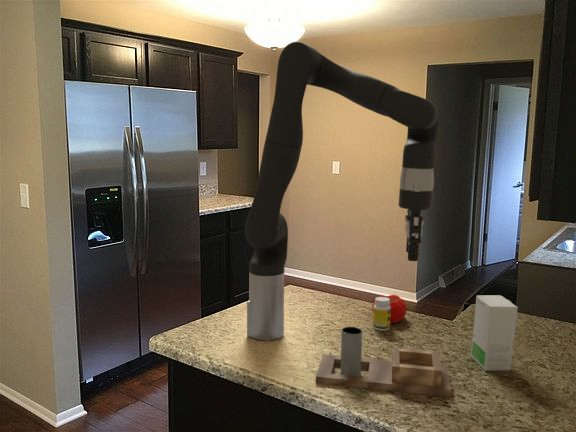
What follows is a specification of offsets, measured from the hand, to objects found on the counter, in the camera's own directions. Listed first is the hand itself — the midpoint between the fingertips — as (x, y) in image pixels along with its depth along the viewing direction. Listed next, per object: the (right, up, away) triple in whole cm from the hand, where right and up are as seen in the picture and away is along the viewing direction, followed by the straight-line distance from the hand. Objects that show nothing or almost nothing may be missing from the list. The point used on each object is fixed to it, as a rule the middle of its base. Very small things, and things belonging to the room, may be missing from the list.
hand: (411, 256), depth 123 cm
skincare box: (+19, -26, +1) cm, 32 cm away
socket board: (-8, -26, -7) cm, 28 cm away
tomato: (+1, -21, +31) cm, 37 cm away
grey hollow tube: (-15, -26, -6) cm, 31 cm away
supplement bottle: (-3, -22, +23) cm, 32 cm away
